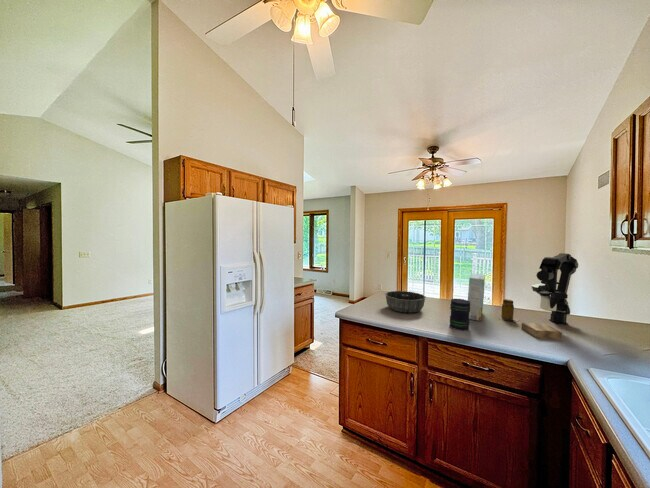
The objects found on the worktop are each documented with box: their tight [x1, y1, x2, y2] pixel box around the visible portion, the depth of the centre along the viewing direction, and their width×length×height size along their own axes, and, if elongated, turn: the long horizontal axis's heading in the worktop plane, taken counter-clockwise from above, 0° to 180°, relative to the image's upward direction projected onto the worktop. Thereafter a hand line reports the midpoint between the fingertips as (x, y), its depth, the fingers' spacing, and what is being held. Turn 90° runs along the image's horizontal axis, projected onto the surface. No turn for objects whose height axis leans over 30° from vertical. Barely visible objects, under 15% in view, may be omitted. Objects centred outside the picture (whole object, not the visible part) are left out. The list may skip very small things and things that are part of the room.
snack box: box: [467, 273, 486, 322], centre depth 167 cm, size 22×9×26 cm, turn 148°
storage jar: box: [449, 298, 471, 331], centre depth 147 cm, size 10×10×15 cm
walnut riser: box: [521, 322, 563, 341], centre depth 139 cm, size 12×12×4 cm
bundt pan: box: [384, 290, 427, 314], centre depth 178 cm, size 26×26×10 cm
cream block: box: [539, 296, 557, 312], centre depth 149 cm, size 5×5×7 cm
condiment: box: [498, 298, 519, 323], centre depth 161 cm, size 7×8×12 cm
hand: (548, 306), depth 149 cm, fingers closed on cream block, 5 cm apart
